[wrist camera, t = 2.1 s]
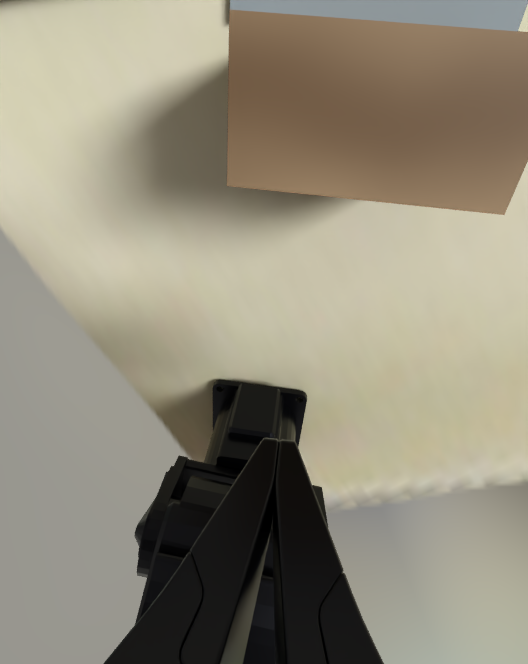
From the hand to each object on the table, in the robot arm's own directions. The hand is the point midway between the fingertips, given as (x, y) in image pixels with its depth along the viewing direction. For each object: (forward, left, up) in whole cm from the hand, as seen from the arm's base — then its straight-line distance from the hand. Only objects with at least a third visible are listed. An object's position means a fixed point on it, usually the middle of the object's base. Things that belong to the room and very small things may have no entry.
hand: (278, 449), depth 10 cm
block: (+7, -2, -13) cm, 15 cm away
